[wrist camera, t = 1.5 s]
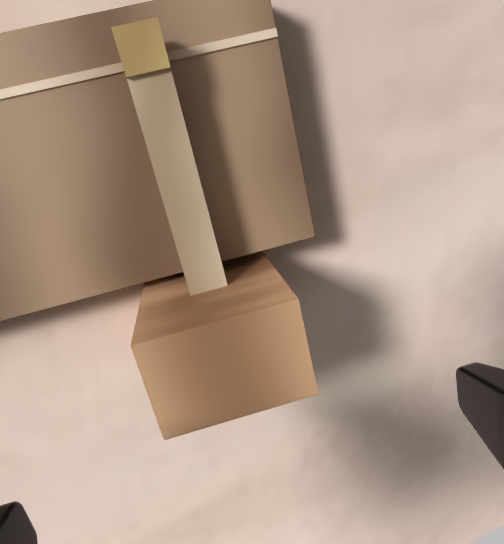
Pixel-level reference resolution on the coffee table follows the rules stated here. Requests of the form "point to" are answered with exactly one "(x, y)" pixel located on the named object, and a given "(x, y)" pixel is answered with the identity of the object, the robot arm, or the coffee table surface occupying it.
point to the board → (138, 149)
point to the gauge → (204, 282)
